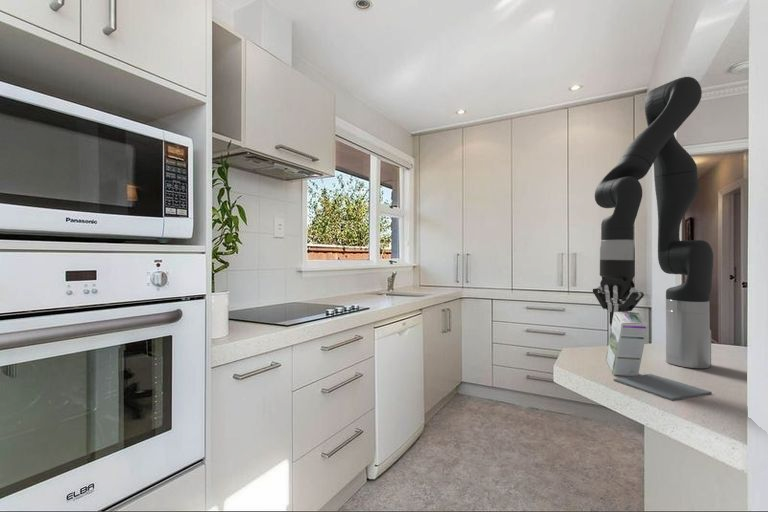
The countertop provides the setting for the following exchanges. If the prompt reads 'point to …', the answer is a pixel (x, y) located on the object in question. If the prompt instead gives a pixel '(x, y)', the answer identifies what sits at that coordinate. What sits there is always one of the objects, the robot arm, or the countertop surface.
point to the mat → (662, 386)
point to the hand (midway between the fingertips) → (616, 327)
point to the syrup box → (626, 343)
